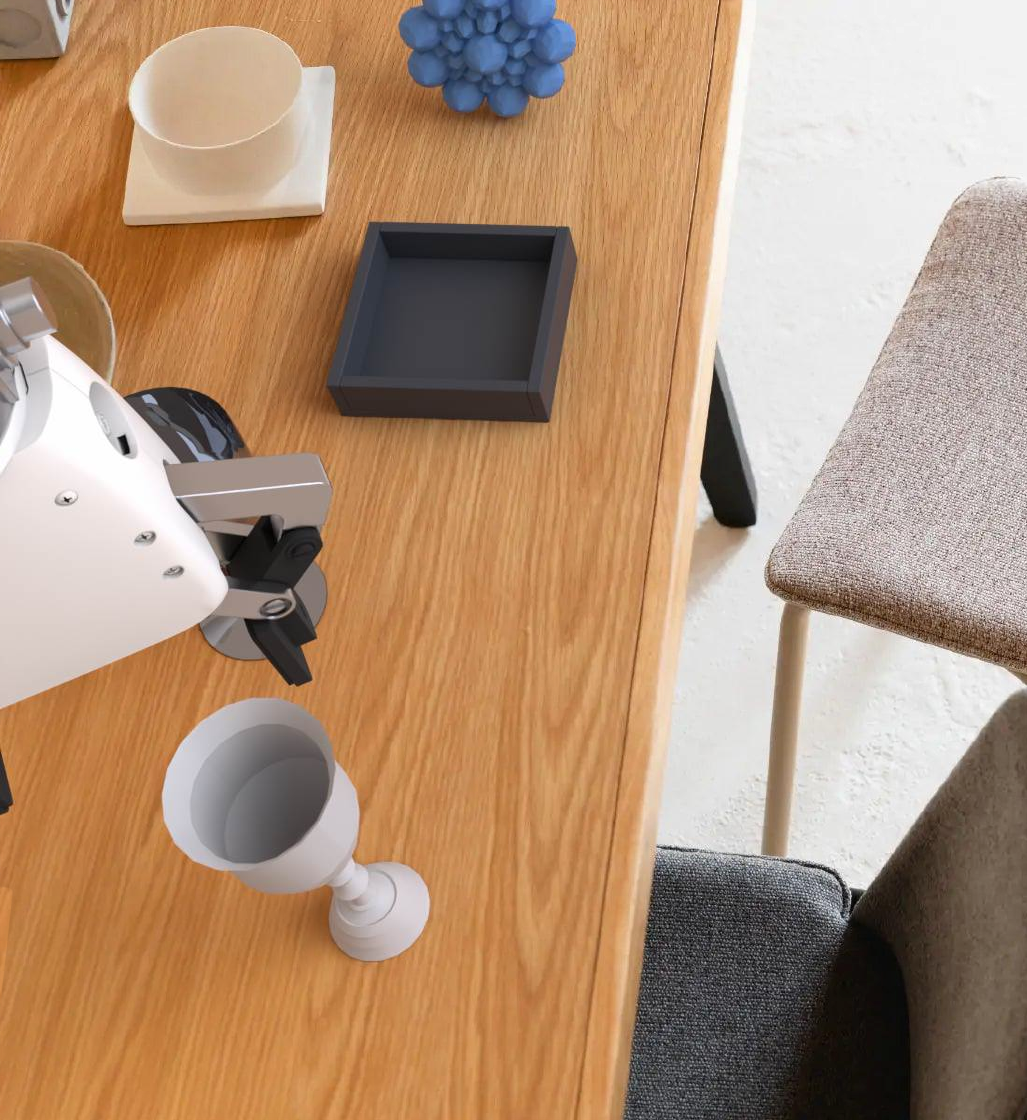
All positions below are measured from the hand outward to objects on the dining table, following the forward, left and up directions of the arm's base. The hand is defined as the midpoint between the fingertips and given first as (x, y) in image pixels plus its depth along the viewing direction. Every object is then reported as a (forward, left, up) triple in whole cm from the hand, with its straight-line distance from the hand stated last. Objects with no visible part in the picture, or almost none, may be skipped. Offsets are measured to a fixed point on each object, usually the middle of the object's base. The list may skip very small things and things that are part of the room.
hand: (146, 710), depth 48 cm
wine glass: (-11, +19, -30) cm, 37 cm away
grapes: (-3, +58, -30) cm, 65 cm away
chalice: (-1, +2, -30) cm, 30 cm away
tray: (-3, +38, -29) cm, 48 cm away
